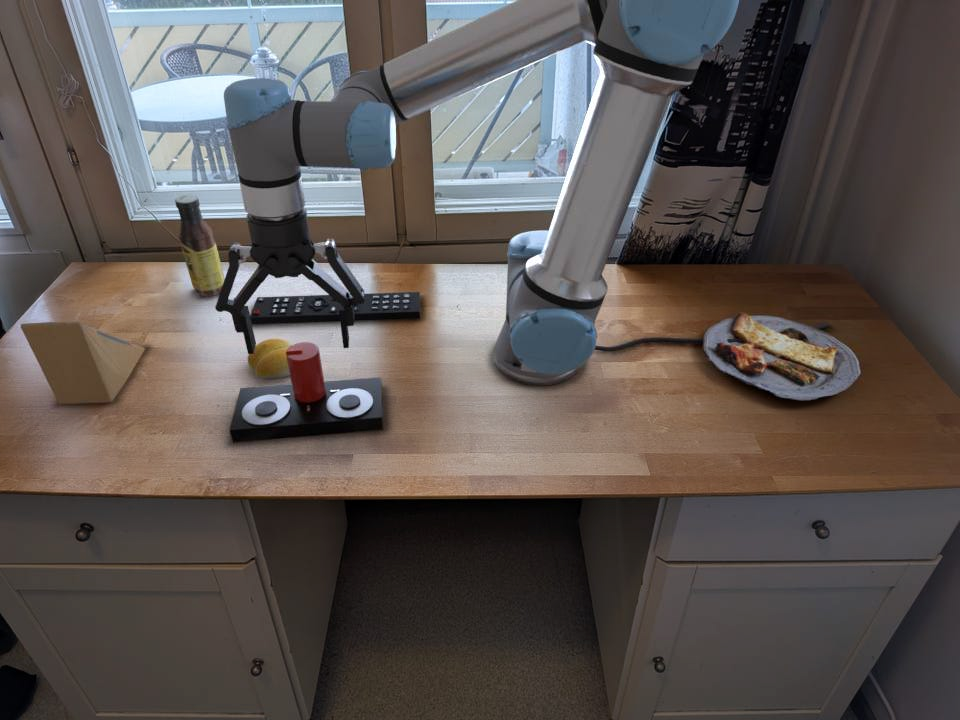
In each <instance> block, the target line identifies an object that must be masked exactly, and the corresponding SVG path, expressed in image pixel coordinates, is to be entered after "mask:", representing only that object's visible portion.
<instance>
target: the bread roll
mask: <svg viewBox="0 0 960 720" xmlns="http://www.w3.org/2000/svg"><path fill="white" fill-rule="evenodd" d="M291 346H292V344H291V343H290V342H289V341H287V340H284V339H281V338H269V339H265V340H262V341H260V342H259V343H256V346H255V350H254V354H248V356H247V363H248V365H249V367H250V368H251V369H252V370H253V371H254V372H255V373H256V375H257V376H258V377H259V378H261V379H264V380H265V379H266V380H272V379H273V380H274V379H275V380H276V379H282V378H286V377H289V376H290V372H289V367H288V362H287V357H286V350H287V349H288V348H289V347H291Z"/></svg>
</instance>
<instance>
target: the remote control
mask: <svg viewBox="0 0 960 720" xmlns="http://www.w3.org/2000/svg"><path fill="white" fill-rule="evenodd" d="M364 294H365V298H364V303H363V304H356V305H354V306H353V309H354V322H364V321H366V322H367V321H392V320H397V321H398V320H419V319H421V292H420V291H406V292H405V291H404V292H378V293H377V292H375V293H364ZM250 318H251V322H252V326H253V325H256V326H257V325H283V324H285V325H286V324H308V323H309V324H312V323H336V322H339V323H340V316H339V303H338V302H337V301H336V300H335V299H334V298H332V297H331V296H330V295H329V294H317V295H315V294H314V295H312V294H311V295H286V296H285V295H283V296H257V297H256V300H255V302H254V304H253V307H252V309H251V311H250Z"/></svg>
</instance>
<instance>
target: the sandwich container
mask: <svg viewBox="0 0 960 720" xmlns="http://www.w3.org/2000/svg"><path fill="white" fill-rule="evenodd" d="M20 329H21V332H22V333H23V335H24V337H25V339H26V341H27V344H28V345H29V347H30V349H31V351H32V353H33V355H34V357H35V360H36V361H37V363H38V365H39V367H40V369H41V372H42V373H43V376H44V377H45V379H46V381H47V383H48V385H49V387H50V389H51V391H52V393H53V395H54V397H55V399H56V400H57V402H58V404H59V405H75V404H104V403H105V404H106V403H112V402H113V401H114V400H115V398H116V397H117V395H118V394H119V392H121V389H122V388H123V386H124V385H125V383H126V382H127V381H128V379H129V377H130V375H131V374H132V372H133V371H134V369H135V367H136V366H137V364H138V362H139V360H140V359H141V357H142V355H143V354H144V352H145V350H146V348H145V347H143V346H140V345H138V344H135V343H131V342H129V341H127V340H124V339H121V338H119V337H115V336H113V335H111V334H108V333H105V332H103V331H101V330H98V329H96V328H94V327H92V326H89V325H87V324H84V323H82V322H79V321H44V322H27V323H21V324H20Z"/></svg>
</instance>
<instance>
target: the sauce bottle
mask: <svg viewBox="0 0 960 720" xmlns="http://www.w3.org/2000/svg"><path fill="white" fill-rule="evenodd" d="M174 203H175V207H176V208H177V211H178V214H179V218H180V230H179V236H178V237H179V238H178V240H179V243H180V247H181V251H182V254H183V258H184V262H185V265H186V268H187V271H188V275H189V279H190V282H191V285H192V288H193V290H194V292H195V293H196V294H197V295H198V296H200V297H212V296H217V295H220V292H221V289H222V286H223V283H224V280H225V274H224V271H223V266H222V263H221V262H222V261H221V257H220V255H219V250H218V246H217V243H216V240H215V238H214V237H215V236H214V232H213V230H212V227H211V226H210V224H208V223H207V222H206V221H205V220H204V219H203V215H202V212H201V209H200V200H199V197H198V196H197V195H196V194H183V195H179V196H178V197H176V198H175V199H174Z"/></svg>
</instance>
